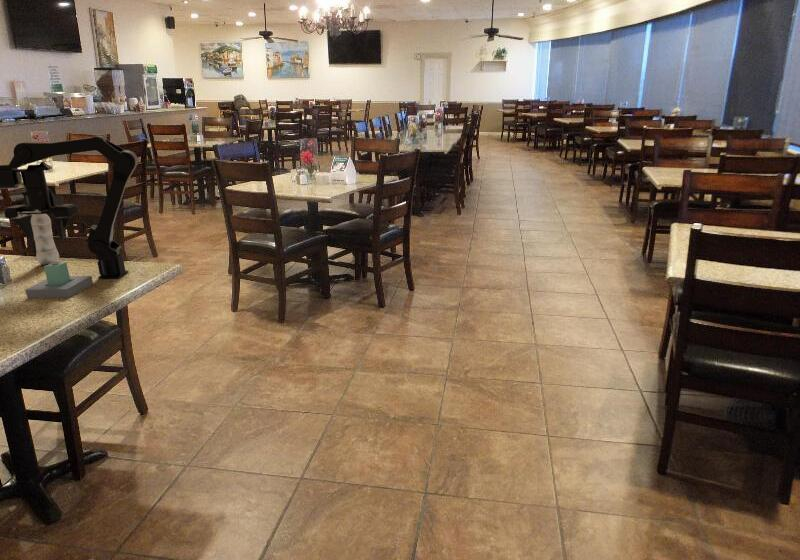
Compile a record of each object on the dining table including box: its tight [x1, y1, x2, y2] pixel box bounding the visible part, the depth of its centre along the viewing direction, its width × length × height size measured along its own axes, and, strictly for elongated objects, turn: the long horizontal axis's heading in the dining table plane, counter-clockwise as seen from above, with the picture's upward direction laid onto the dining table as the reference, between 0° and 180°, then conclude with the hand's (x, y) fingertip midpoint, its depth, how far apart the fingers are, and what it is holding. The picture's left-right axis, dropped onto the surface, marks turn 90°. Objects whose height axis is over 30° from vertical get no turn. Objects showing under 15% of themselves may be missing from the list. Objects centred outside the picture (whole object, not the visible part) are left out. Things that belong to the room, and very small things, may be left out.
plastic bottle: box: [30, 210, 60, 266], centre depth 191 cm, size 6×7×20 cm
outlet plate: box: [25, 275, 94, 299], centre depth 166 cm, size 12×12×2 cm
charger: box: [43, 260, 71, 286], centre depth 165 cm, size 4×4×9 cm
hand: (47, 239), depth 171 cm, fingers open, 9 cm apart
